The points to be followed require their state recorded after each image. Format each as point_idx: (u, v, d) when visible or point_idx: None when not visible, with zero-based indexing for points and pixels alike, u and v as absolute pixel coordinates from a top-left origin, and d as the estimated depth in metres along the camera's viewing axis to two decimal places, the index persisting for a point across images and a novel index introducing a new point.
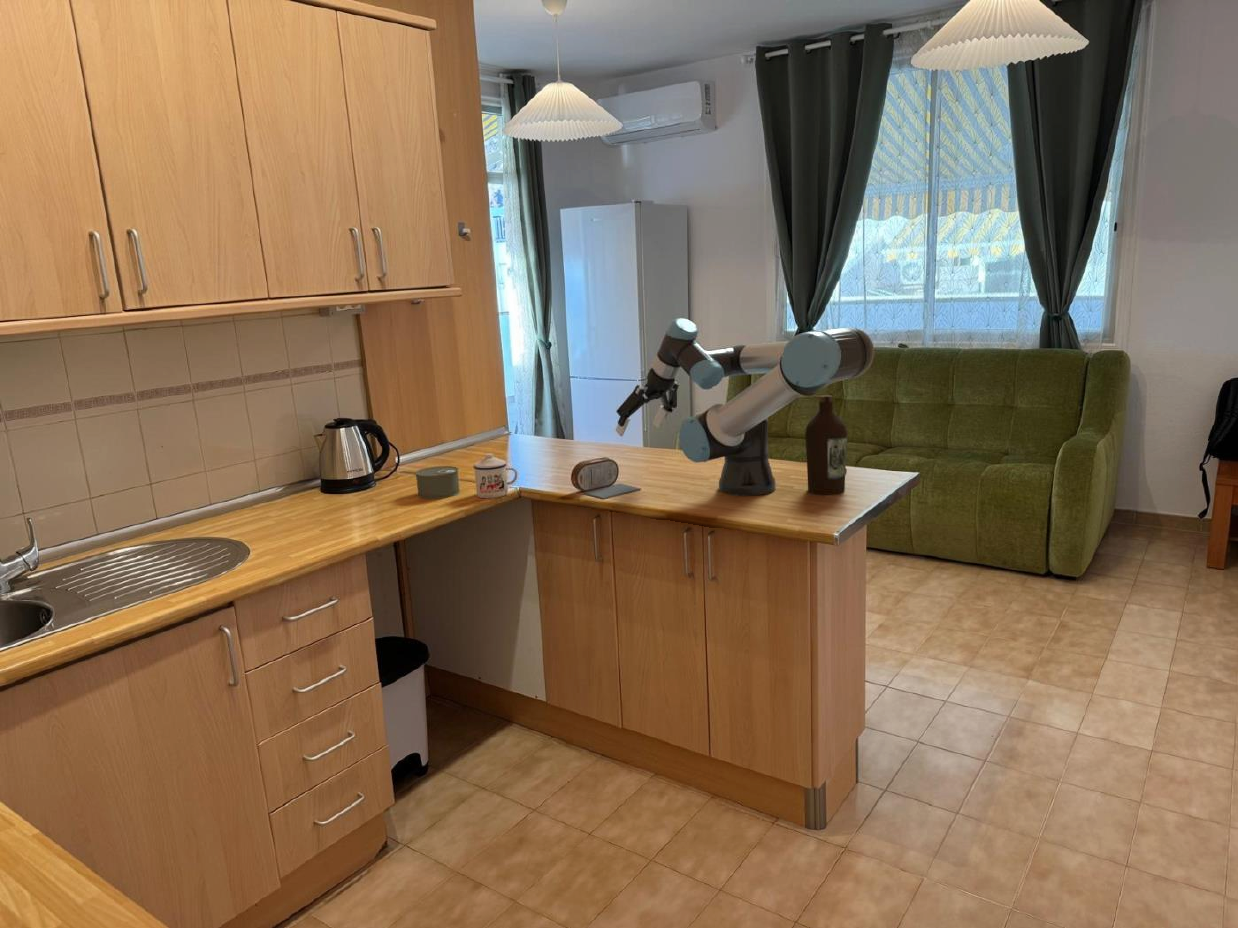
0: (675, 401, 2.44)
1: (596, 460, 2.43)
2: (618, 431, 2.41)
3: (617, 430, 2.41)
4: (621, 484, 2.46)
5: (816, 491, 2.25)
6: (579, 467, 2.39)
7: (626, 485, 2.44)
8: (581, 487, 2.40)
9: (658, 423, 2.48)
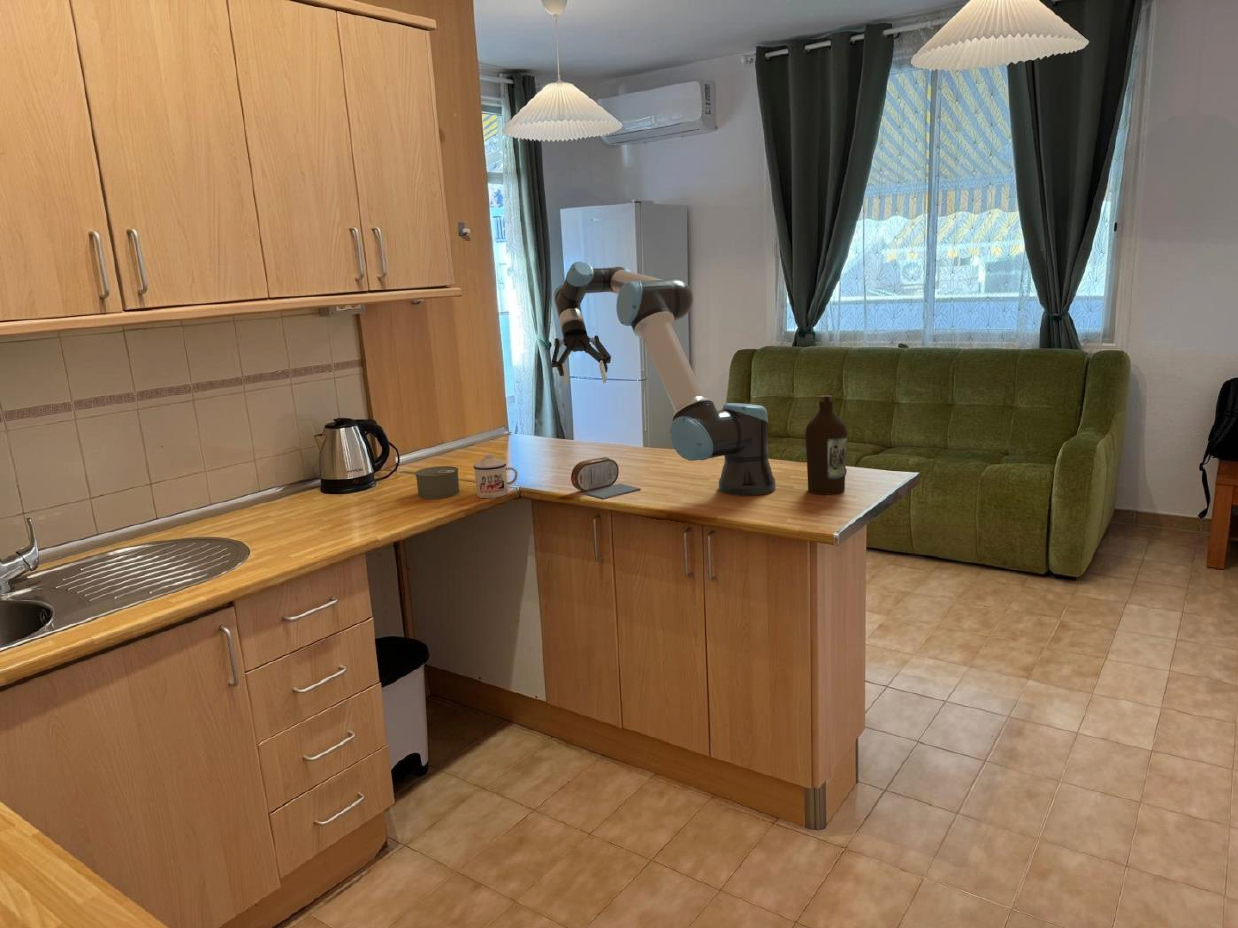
0: (605, 351, 2.67)
1: (596, 460, 2.43)
2: (565, 381, 2.60)
3: (565, 382, 2.60)
4: (621, 484, 2.46)
5: (816, 491, 2.25)
6: (579, 467, 2.39)
7: (626, 485, 2.44)
8: (581, 487, 2.40)
9: (603, 374, 2.62)
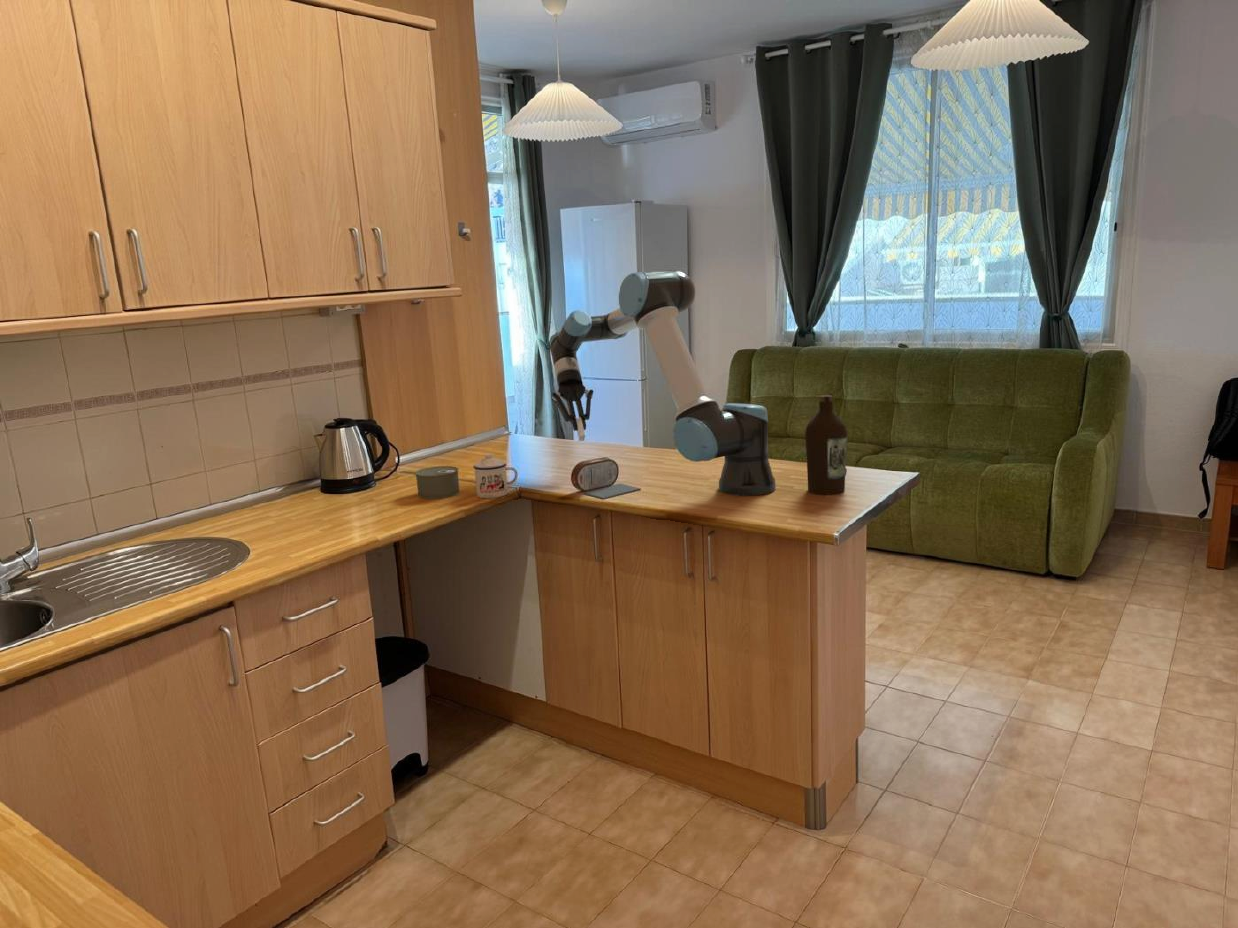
0: (588, 407, 2.61)
1: (596, 460, 2.43)
2: (579, 436, 2.56)
3: (579, 438, 2.56)
4: (621, 484, 2.46)
5: (816, 491, 2.25)
6: (579, 467, 2.39)
7: (626, 485, 2.44)
8: (581, 487, 2.40)
9: None
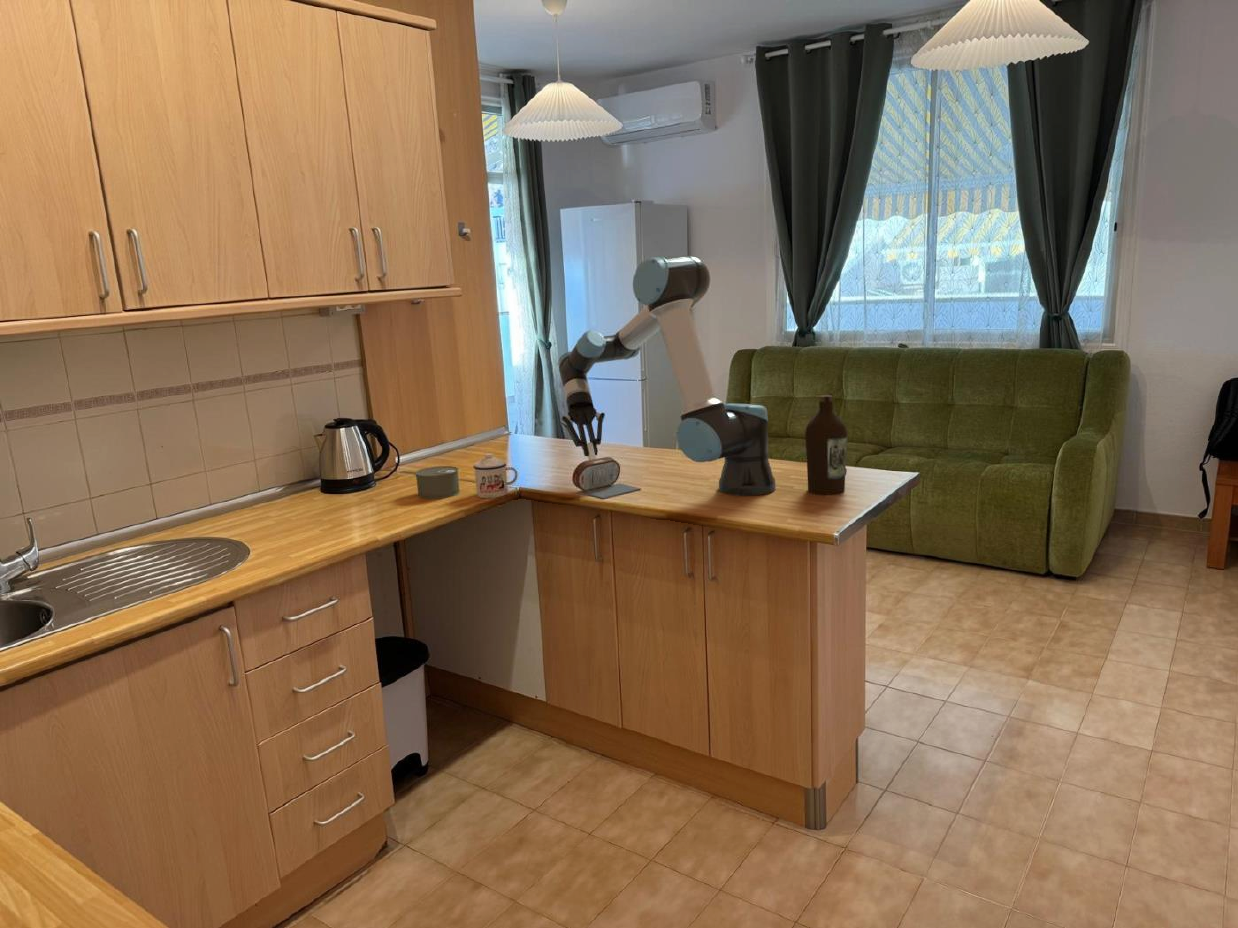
0: (600, 431, 2.49)
1: (599, 460, 2.41)
2: None
3: None
4: (621, 484, 2.46)
5: (816, 491, 2.25)
6: (582, 468, 2.38)
7: (626, 485, 2.44)
8: (582, 487, 2.40)
9: None
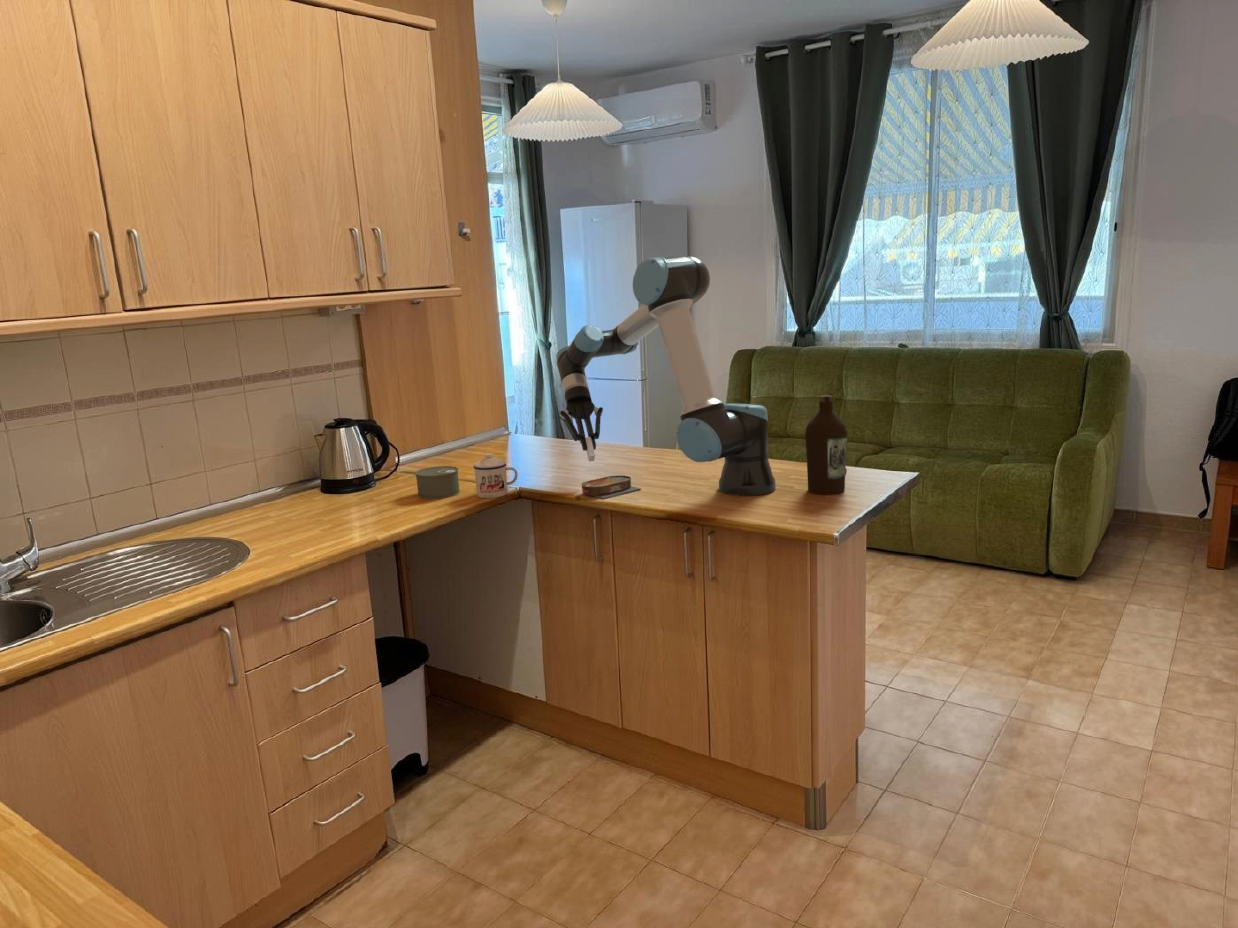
0: (598, 426, 2.50)
1: (616, 487, 2.37)
2: (589, 457, 2.45)
3: (588, 458, 2.45)
4: None
5: (816, 491, 2.25)
6: (596, 493, 2.34)
7: None
8: None
9: None
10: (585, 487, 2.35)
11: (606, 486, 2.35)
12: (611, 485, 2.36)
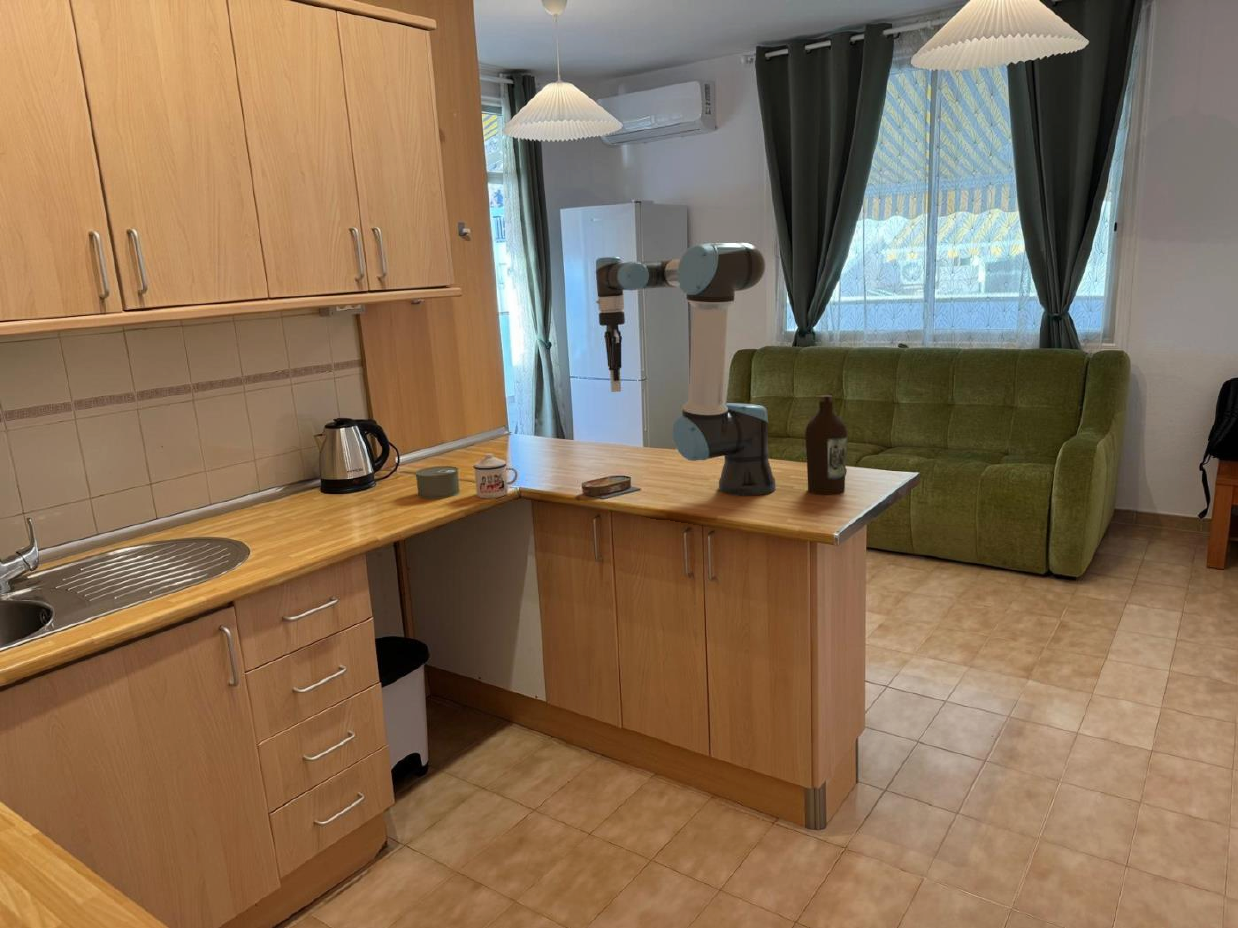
0: None
1: (616, 487, 2.37)
2: (616, 389, 2.58)
3: (614, 390, 2.58)
4: None
5: (816, 491, 2.25)
6: (596, 493, 2.34)
7: None
8: None
9: None
10: (585, 487, 2.35)
11: (606, 486, 2.35)
12: (611, 485, 2.36)
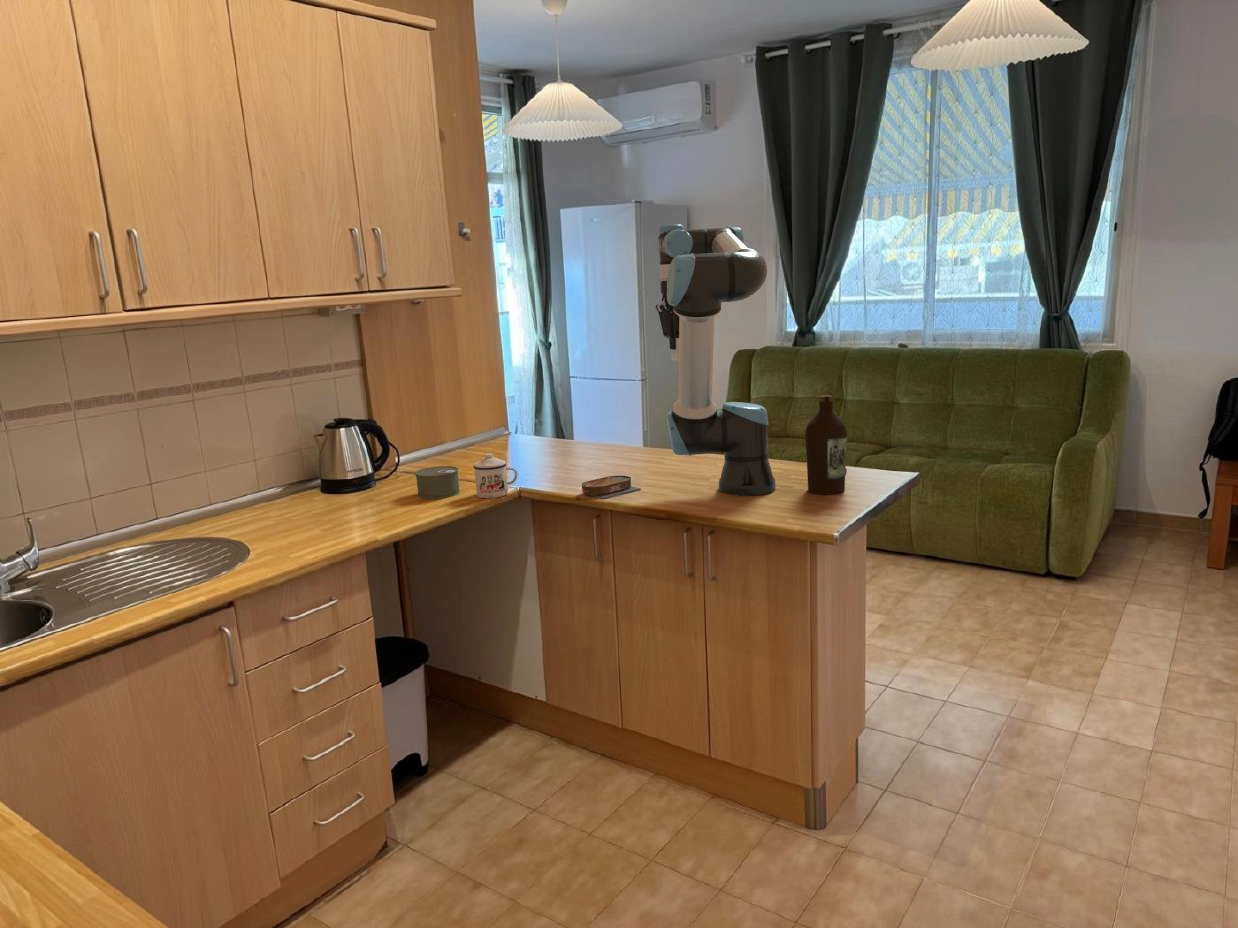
0: None
1: (616, 487, 2.37)
2: (674, 358, 2.59)
3: (673, 358, 2.59)
4: None
5: (816, 491, 2.25)
6: (596, 493, 2.34)
7: None
8: None
9: None
10: (585, 487, 2.35)
11: (606, 486, 2.35)
12: (611, 485, 2.36)
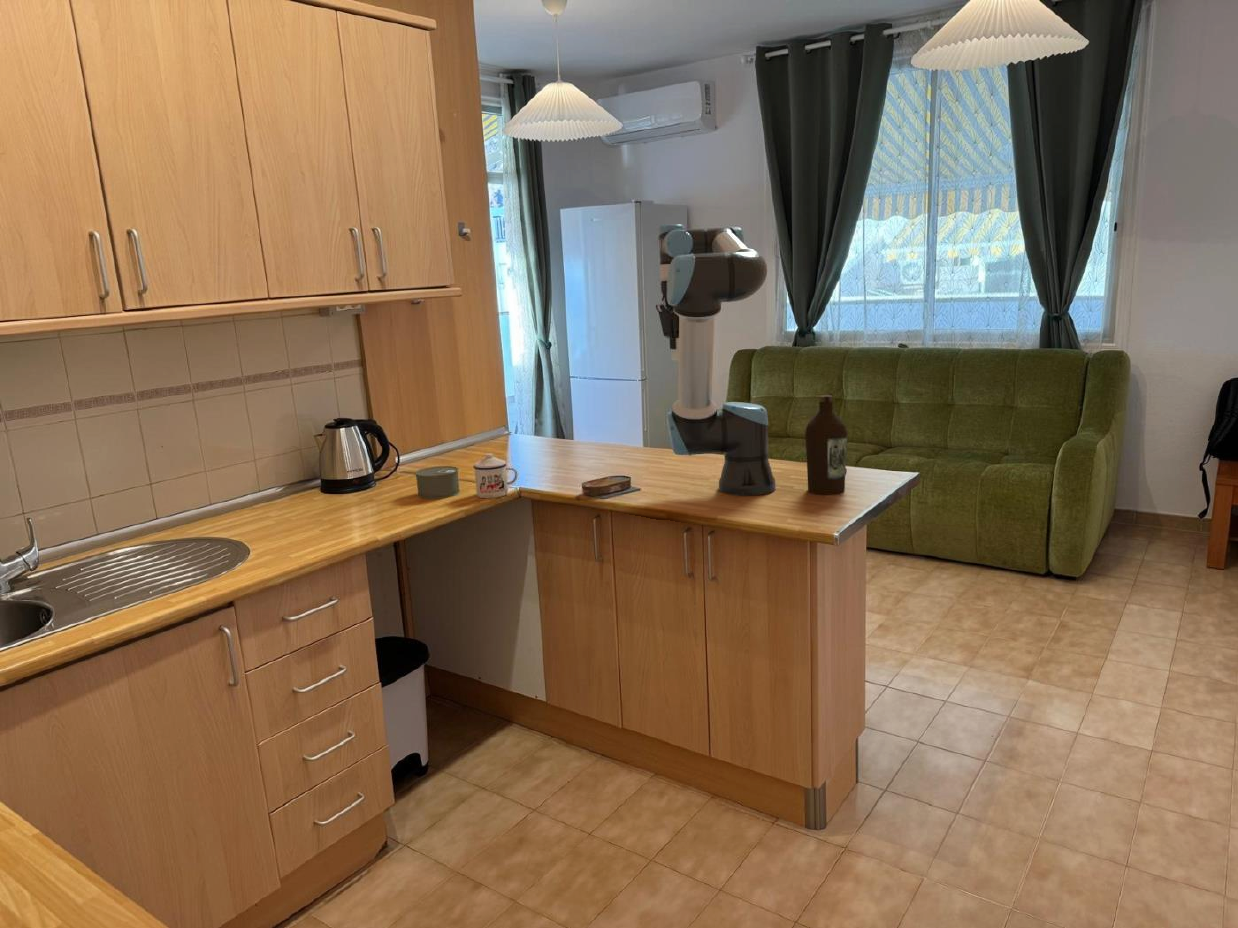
0: None
1: (616, 487, 2.37)
2: (674, 358, 2.59)
3: (673, 358, 2.59)
4: None
5: (816, 491, 2.25)
6: (596, 493, 2.34)
7: None
8: None
9: None
10: (585, 487, 2.35)
11: (606, 486, 2.35)
12: (611, 485, 2.36)
